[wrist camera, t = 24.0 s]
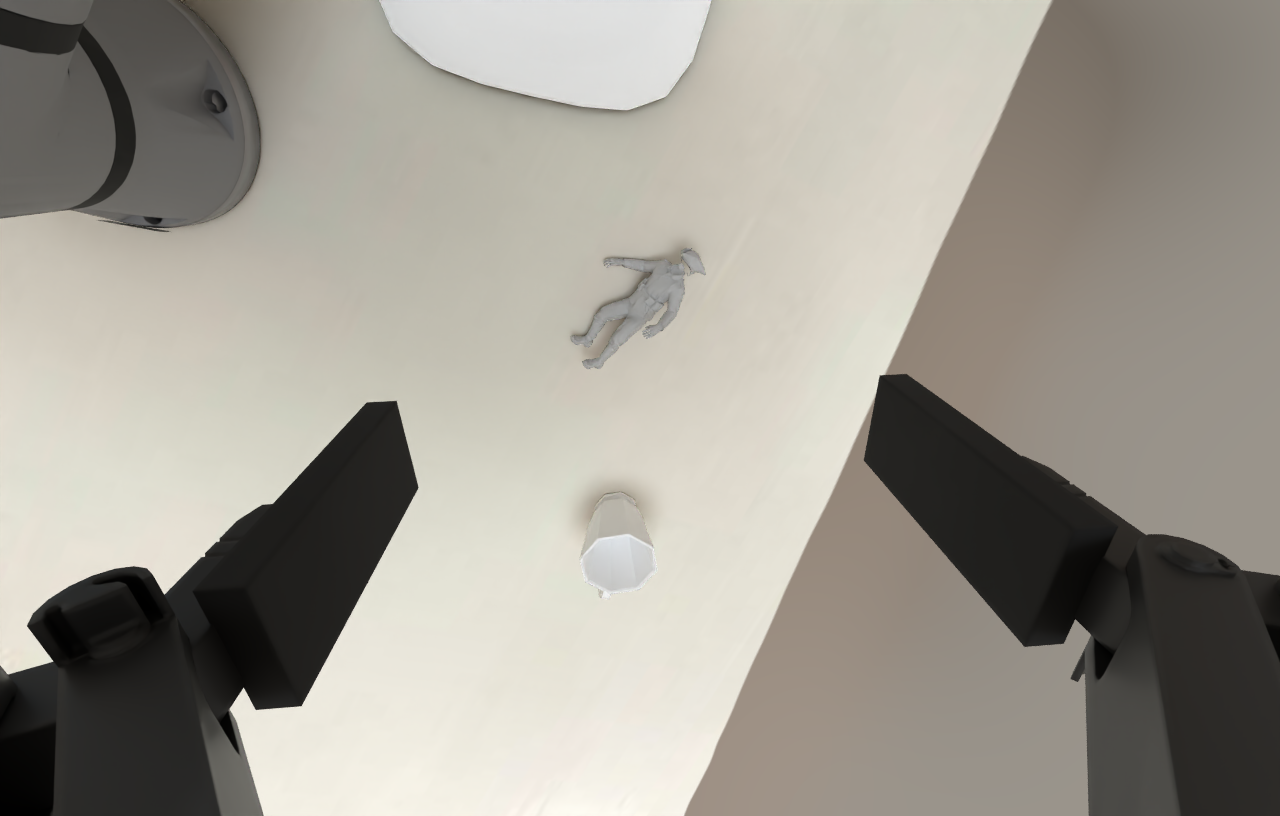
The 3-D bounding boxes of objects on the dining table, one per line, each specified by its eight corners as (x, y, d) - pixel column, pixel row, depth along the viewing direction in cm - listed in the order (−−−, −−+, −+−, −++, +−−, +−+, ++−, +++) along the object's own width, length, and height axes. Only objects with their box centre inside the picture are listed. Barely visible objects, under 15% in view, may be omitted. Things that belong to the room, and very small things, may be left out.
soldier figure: (554, 310, 45) (643, 204, 38) (594, 315, 49) (682, 219, 42) (590, 386, 42) (693, 286, 36) (630, 385, 46) (729, 295, 39)
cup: (658, 487, 52) (668, 540, 45) (633, 563, 56) (639, 623, 49) (589, 474, 51) (588, 527, 44) (569, 553, 55) (564, 613, 48)
